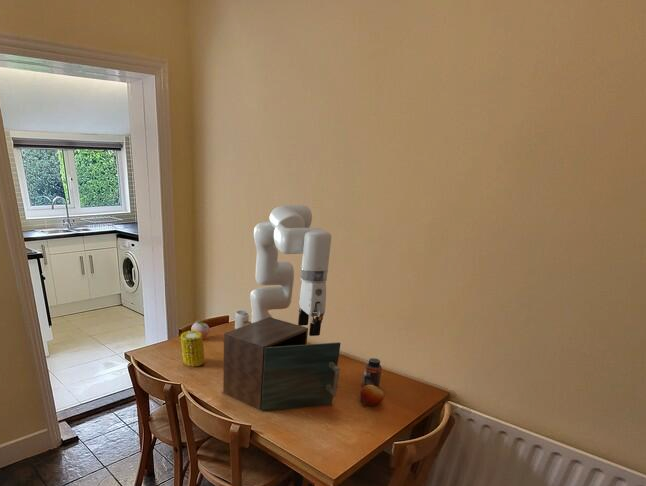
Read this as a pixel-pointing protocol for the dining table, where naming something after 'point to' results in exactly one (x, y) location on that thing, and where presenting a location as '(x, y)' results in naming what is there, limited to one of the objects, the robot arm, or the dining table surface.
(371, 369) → the supplement bottle
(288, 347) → the door
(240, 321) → the beverage can
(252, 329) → the cupboard
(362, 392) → the fruit
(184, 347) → the food
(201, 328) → the decorative fruit
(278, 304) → the robot arm
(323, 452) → the dining table surface
